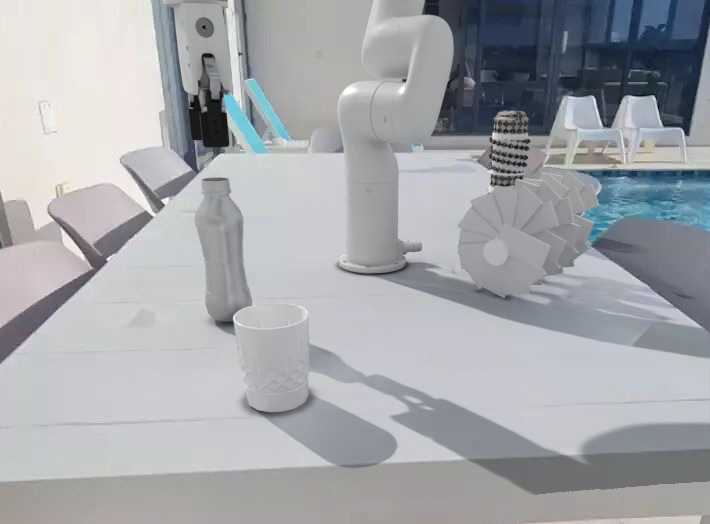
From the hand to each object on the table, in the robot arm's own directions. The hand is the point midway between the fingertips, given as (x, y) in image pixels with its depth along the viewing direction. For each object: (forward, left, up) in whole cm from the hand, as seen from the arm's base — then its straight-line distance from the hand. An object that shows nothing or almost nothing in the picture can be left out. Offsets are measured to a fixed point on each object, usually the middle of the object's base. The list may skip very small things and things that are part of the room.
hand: (209, 143), depth 83 cm
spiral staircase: (-50, +2, -25) cm, 56 cm away
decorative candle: (-72, -38, -25) cm, 85 cm away
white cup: (0, +27, -25) cm, 37 cm away
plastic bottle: (0, 0, -25) cm, 25 cm away
